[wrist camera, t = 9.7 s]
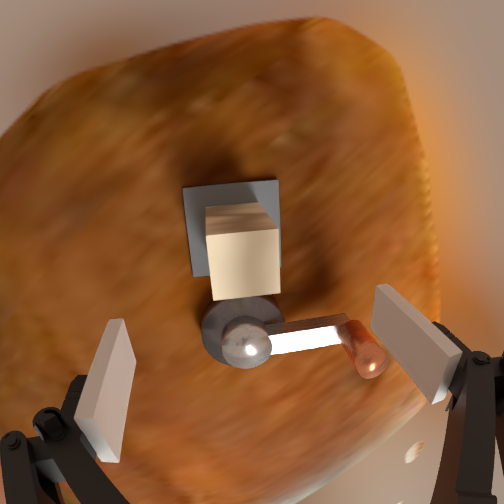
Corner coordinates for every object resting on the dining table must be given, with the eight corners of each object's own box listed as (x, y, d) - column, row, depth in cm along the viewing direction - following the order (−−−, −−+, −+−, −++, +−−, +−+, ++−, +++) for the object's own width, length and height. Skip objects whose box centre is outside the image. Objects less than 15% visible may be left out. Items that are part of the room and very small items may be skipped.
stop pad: (193, 276, 33) (193, 277, 33) (182, 188, 30) (182, 188, 29) (280, 266, 34) (281, 267, 34) (277, 179, 31) (278, 180, 30)
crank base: (207, 359, 37) (207, 370, 35) (196, 293, 34) (195, 302, 32) (282, 350, 38) (286, 360, 36) (281, 283, 35) (285, 292, 33)
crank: (223, 357, 34) (229, 411, 27) (218, 319, 32) (223, 372, 25) (353, 336, 36) (383, 381, 28) (357, 299, 34) (392, 341, 26)
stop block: (210, 256, 32) (213, 300, 24) (205, 207, 30) (205, 235, 22) (260, 251, 33) (280, 293, 24) (258, 202, 31) (278, 228, 23)
